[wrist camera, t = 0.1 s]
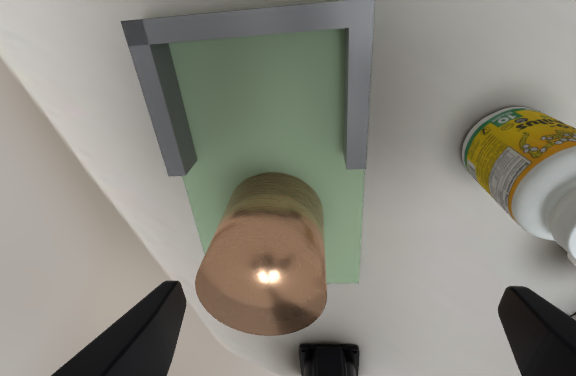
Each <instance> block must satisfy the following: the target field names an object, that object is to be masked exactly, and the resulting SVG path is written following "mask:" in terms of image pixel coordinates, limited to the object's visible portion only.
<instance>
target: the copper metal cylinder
mask: <svg viewBox="0 0 576 376" xmlns="http://www.w3.org/2000/svg"><path fill="white" fill-rule="evenodd" d="M195 286H196V292H197V295H198V298H199V300H200V302H201V303H202V305H203V306H204V308H205V309H206V310H207V311H208V312H209V313H210V314H211V315H212V316H213V317H214V318H216V319H217V320H218V321H220V322H222V323H223V324H225V325H227V326H229V327H231V328H234V329H236V330H239V331H242V332H245V333H250V334H255V335H265V336H276V335H284V334H289V333H293V332H296V331H299V330H301V329H303V328H305V327H307V326H309V325H310V324H312V323H313V322H314V321H315V320H316V319H317V318H318V317H319V316H320V315H321V313H322V312H323V310H324V308H325V305H326V301H327V285H326V262H325V238H324V215H323V207H322V203H321V201H320V198H319V197H318V195H317V193H316V192H315V191H314V190H313V189H312V188H311V187H310V186H309V185H308V184H307V183H305V182H304V181H303V180H301V179H299V178H297V177H294V176H292V175H289V174H285V173H279V172H267V173H261V174H257V175H254V176H251V177H249V178H247V179H246V180H244V181H243V182H241V183H240V184H239V185H238V186H237V188H236V189H235V190H234V192H233V193H232V195H231V198H230V200H229V202H228V204H227V207H226V209H225V211H224V213H223V216H222V218H221V220H220V222H219V225H218V227H217V229H216V231H215V234H214V236H213V238H212V241H211V243H210V245H209V247H208V250H207V252H206V254H205V256H204V259H203V261H202V263H201V265H200V268H199V270H198V273H197V276H196V281H195Z"/></svg>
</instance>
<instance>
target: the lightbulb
mask: <svg viewBox="0 0 576 376" xmlns="http://www.w3.org/2000/svg"><path fill="white" fill-rule="evenodd" d="M567 256H568V259H569V260H570V261H571V262H572V264H573V265H574V266H575V267H576V259H575V258H574V257H572V256H571V255H570V254H569V253H568V254H567Z"/></svg>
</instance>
